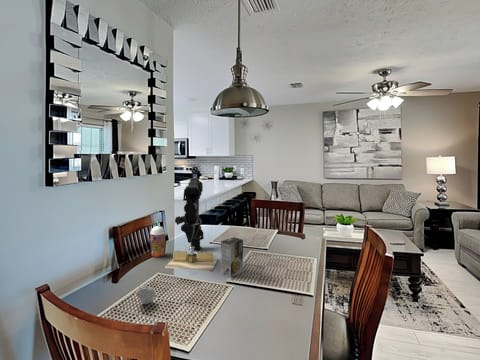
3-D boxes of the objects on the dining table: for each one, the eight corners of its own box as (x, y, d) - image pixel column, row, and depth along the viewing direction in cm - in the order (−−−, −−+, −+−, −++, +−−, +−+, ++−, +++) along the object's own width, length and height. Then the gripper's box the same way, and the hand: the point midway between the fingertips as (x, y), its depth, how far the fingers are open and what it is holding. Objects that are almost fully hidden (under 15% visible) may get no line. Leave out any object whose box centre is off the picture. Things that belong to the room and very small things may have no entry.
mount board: (174, 258, 158) (174, 256, 158) (218, 260, 156) (218, 258, 156) (164, 268, 142) (164, 267, 142) (211, 271, 140) (211, 270, 140)
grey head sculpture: (133, 303, 108) (132, 285, 107) (150, 297, 113) (150, 280, 112) (140, 309, 103) (140, 291, 103) (158, 303, 108) (158, 285, 108)
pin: (195, 260, 153) (195, 246, 153) (193, 262, 150) (193, 247, 150) (190, 260, 154) (190, 245, 153) (188, 261, 151) (188, 247, 150)
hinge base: (175, 258, 156) (175, 249, 155) (198, 259, 154) (198, 250, 154) (171, 261, 150) (171, 252, 150) (195, 263, 149) (195, 253, 149)
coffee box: (233, 268, 143) (233, 236, 142) (243, 272, 139) (243, 239, 138) (220, 274, 136) (220, 240, 135) (230, 277, 132) (231, 243, 131)
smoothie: (149, 259, 155) (149, 223, 154) (150, 254, 163) (149, 219, 162) (165, 258, 157) (165, 222, 156) (165, 253, 165) (165, 219, 164)
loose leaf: (198, 260, 152) (198, 251, 152) (213, 260, 152) (213, 252, 152) (197, 261, 151) (197, 252, 151) (212, 261, 150) (212, 253, 150)
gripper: (182, 207, 160) (182, 235, 161) (170, 213, 142) (170, 244, 143) (201, 208, 159) (201, 235, 160) (192, 214, 141) (192, 245, 142)
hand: (191, 240), depth 151 cm, fingers open, 9 cm apart
